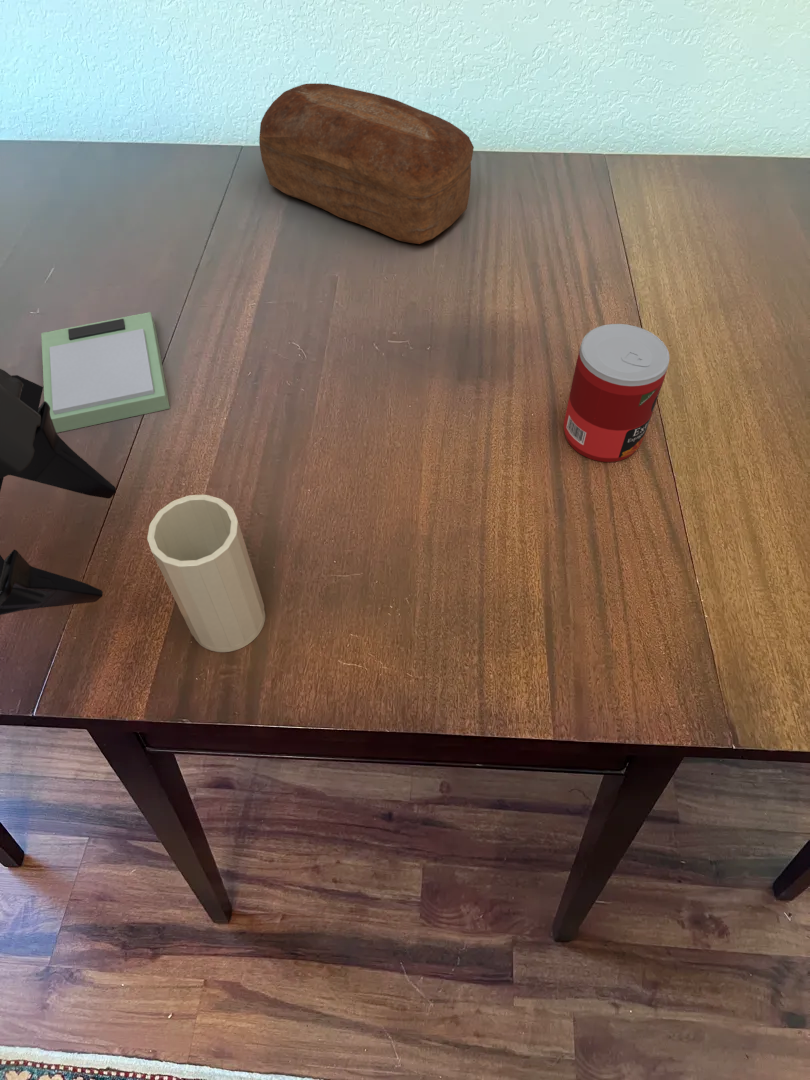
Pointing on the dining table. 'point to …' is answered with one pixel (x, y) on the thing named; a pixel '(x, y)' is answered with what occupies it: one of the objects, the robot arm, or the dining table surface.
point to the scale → (103, 372)
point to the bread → (367, 159)
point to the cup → (208, 571)
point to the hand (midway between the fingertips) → (107, 542)
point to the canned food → (614, 391)
